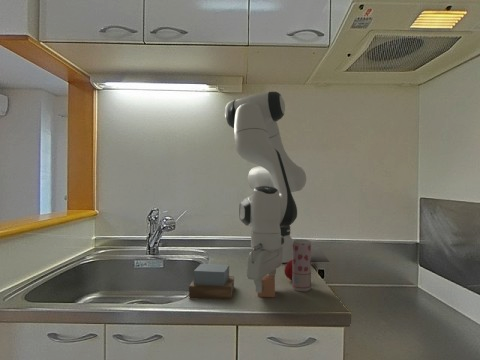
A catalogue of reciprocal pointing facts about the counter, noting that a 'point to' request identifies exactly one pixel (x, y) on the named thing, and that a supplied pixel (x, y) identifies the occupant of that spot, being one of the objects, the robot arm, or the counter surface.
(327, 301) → the counter surface
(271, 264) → the robot arm
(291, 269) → the onion
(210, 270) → the grey block
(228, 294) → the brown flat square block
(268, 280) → the rust cube
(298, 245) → the beverage can
